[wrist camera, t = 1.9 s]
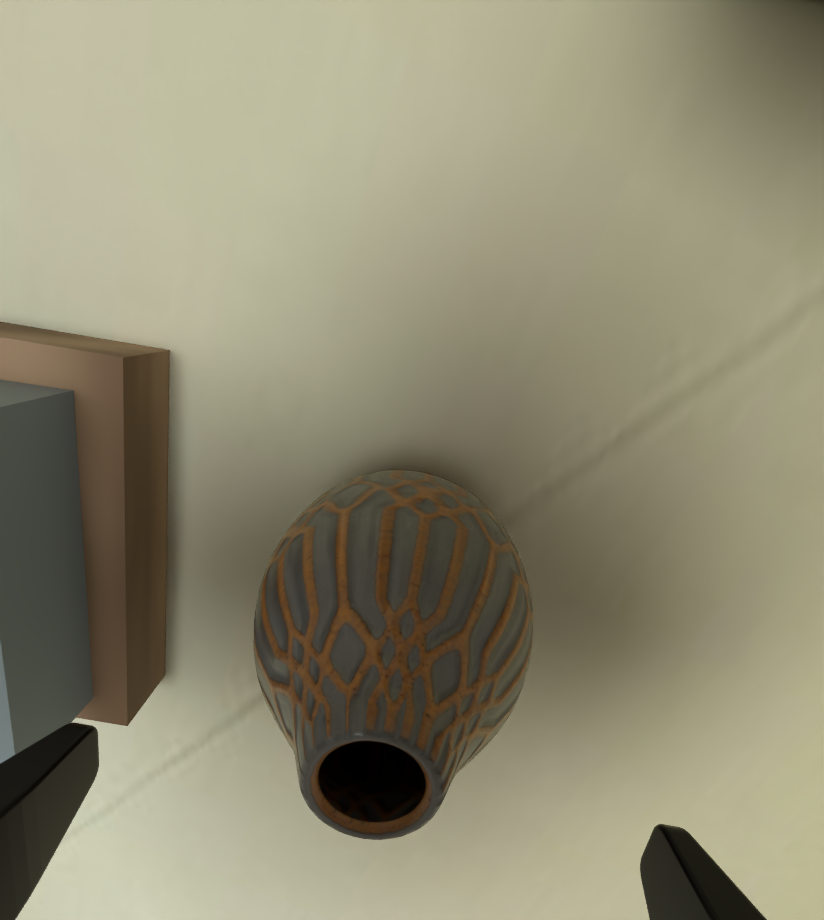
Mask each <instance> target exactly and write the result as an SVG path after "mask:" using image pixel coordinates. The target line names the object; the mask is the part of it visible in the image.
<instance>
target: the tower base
mask: <svg viewBox="0 0 824 920" xmlns="http://www.w3.org/2000/svg"><path fill="white" fill-rule="evenodd" d="M169 356H170V350H165V349H159V348H153V347H147V346H141V345H135V344H129V343H123V342H117V341H111V340H106V339H100V338H94V337H88V336H82V335H76V334H70V333H64V332H58V331H52V330H46V329H40V328H34V327H28V326H22V325H16V324H10V323H4V322H0V380H6V381H13V382H20V383H27V384H34V385H40V386H47V387H54V388H61V389H68V390H74V406H75V421H76V437H77V452H78V468H79V484H80V499H81V515H82V530H83V546H84V561H85V577H86V592H87V608H88V623H89V639H90V655H91V671H92V687H93V698H92V699H91V701H90V702H89V703H88V704H87V705H86V706H85V707H84V709H83V710H82V711H81V712H80V713H79V714H78V715H77V718H83V719H89V720H95V721H101V722H107V723H113V724H119V725H125V726H128V724H129V723H130V722H131V720H132V719H133V718H134V716H135V715H136V714H137V712H138V711H139V710H140V708H141V707H142V706H143V704H144V703H145V702H146V700H147V699H148V697H149V696H150V695H151V693H152V692H153V691H154V689H155V688H156V687H157V685H158V684H159V683H160V681H161V680H162V679H163V677H164V676H165V648H166V575H167V502H168V429H169Z"/></svg>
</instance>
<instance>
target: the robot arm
mask: <svg viewBox="0 0 824 920" xmlns="http://www.w3.org/2000/svg"><path fill="white" fill-rule="evenodd" d="M98 767H99V750H98V731H97V729H96V728H95V727H94V726H91V725H85V724H79V723H69V724H66V725H64V726H62V727H60V728H59V729H57V730H55V731H54V732H52V733H50V734H49V735H47V736H45V737H44V738H42V739H40V740H39V741H37V742H35V743H34V744H32V745H30V746H29V747H27V748H25V749H24V750H22V751H20V752H19V753H17V754H15V755H14V756H12V757H10V758H9V759H7V760H5V761H4V762H2V763H0V920H15V919H16V918H17V916H18V915H19V913H20V911H21V910H22V908H23V907H24V905H25V904H26V902H27V900H28V899H29V897H30V896H31V894H32V892H33V891H34V889H35V887H36V885H37V884H38V882H39V880H40V878H41V877H42V875H43V873H44V871H45V869H46V868H47V866H48V864H49V862H50V860H51V858H52V857H53V855H54V853H55V851H56V849H57V848H58V846H59V844H60V842H61V840H62V838H63V837H64V835H65V833H66V831H67V829H68V828H69V826H70V824H71V822H72V820H73V818H74V817H75V815H76V813H77V811H78V809H79V808H80V806H81V804H82V802H83V800H84V798H85V797H86V795H87V793H88V791H89V789H90V788H91V786H92V784H93V782H94V780H95V777H96V775H97V772H98ZM640 872H641V879H642V884H643V889H644V894H645V899H646V904H647V909H648V913H649V918H650V920H767V919H766V918H765V917H764V916H763V915H762V914H761V913H760V912H759V911H758V909H757V908H756V907H755V906H754V905H753V904H752V903H751V902H750V900H749V899H748V898H747V897H746V896H745V895H744V894H743V893H742V892H741V890H740V889H739V888H738V887H737V886H736V885H735V884H734V883H733V881H732V880H731V879H730V878H729V877H728V876H727V875H726V874H725V873H724V871H723V870H722V869H721V868H720V867H719V866H718V865H717V864H716V862H715V861H714V860H713V859H712V858H711V857H710V856H709V855H708V854H707V852H706V851H705V850H704V849H703V848H702V847H701V846H700V845H699V843H698V842H697V841H696V840H695V839H694V838H693V837H692V836H691V835H690V834H689V833H688V832H687V831H686V830H685V829H683V828H680V827H676V826H670V825H664V824H659V825H657V826H656V827H655V828H654V829H653V832H652V834H651V836H650V839H649V841H648V843H647V846H646V848H645V850H644V853H643V855H642V858H641V863H640Z"/></svg>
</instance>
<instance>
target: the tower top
mask: <svg viewBox="0 0 824 920" xmlns="http://www.w3.org/2000/svg"><path fill="white" fill-rule="evenodd" d="M92 698H93V687H92V671H91V655H90V639H89V623H88V608H87V592H86V577H85V561H84V546H83V530H82V515H81V499H80V484H79V468H78V452H77V437H76V421H75V406H74V390H68V389H61V388H54V387H47V386H40V385H34V384H27V383H20V382H13V381H6V380H0V763H2V762H4V761H5V760H7V759H9V758H10V757H12V756H14V755H15V754H17V753H19V752H20V751H22V750H24V749H25V748H27V747H29V746H30V745H32V744H34V743H35V742H37V741H39V740H40V739H42V738H44V737H45V736H47V735H49V734H50V733H52V732H54V731H55V730H57V729H59V728H60V727H62V726H64V725H66V724H69V723H71V722H72V721H73V720H74V719H75V718H76V717H77V715H78V714H79V713H80V712H81V711H82V710H83V709H84V707H85V706H86V705H87V704H88V703H89V702H90V701H91V699H92Z"/></svg>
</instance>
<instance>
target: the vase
mask: <svg viewBox="0 0 824 920" xmlns="http://www.w3.org/2000/svg"><path fill="white" fill-rule="evenodd" d="M532 634H533V612H532V601H531V595H530V589H529V585H528V581H527V578H526V574H525V571H524V568H523V565H522V563H521V560H520V558H519V555H518V553H517V550H516V548H515V546H514V544H513V542H512V541H511V539H510V537H509V535H508V534H507V532H506V530H505V529H504V527H503V526H502V524H501V523H500V522H499V520H498V519H497V518H496V517H495V516H494V514H493V513H492V512H491V511H490V510H489V509H488V508H487V507H486V506H485V505H484V504H483V503H482V502H481V501H479V500H478V499H477V498H476V497H475V496H473V495H472V494H471V493H469V492H468V491H466V490H465V489H463V488H461V487H460V486H458V485H456V484H454V483H452V482H450V481H448V480H445V479H443V478H440V477H438V476H434V475H431V474H427V473H423V472H418V471H410V470H387V471H380V472H374V473H369V474H365V475H362V476H358V477H356V478H353V479H350V480H348V481H346V482H344V483H342V484H340V485H338V486H336V487H334V488H333V489H331V490H329V491H328V492H326V493H325V494H323V495H322V496H320V497H319V498H318V499H317V500H315V501H314V502H313V503H312V504H311V505H310V506H309V507H308V508H307V509H306V510H305V511H304V512H303V513H302V514H301V515H300V516H299V517H298V518H297V519H296V521H295V522H294V523H293V524H292V525H291V527H290V528H289V529H288V531H287V532H286V534H285V535H284V536H283V538H282V539H281V541H280V543H279V544H278V546H277V548H276V550H275V551H274V553H273V555H272V557H271V559H270V561H269V563H268V565H267V568H266V571H265V574H264V577H263V580H262V582H261V586H260V590H259V594H258V599H257V605H256V611H255V620H254V656H255V664H256V671H257V675H258V679H259V683H260V686H261V689H262V692H263V695H264V698H265V700H266V703H267V705H268V707H269V709H270V711H271V713H272V715H273V717H274V719H275V720H276V722H277V724H278V726H279V727H280V729H281V731H282V733H283V734H284V736H285V738H286V739H287V741H288V743H289V744H290V746H291V747H292V749H293V751H294V754H295V759H296V765H297V772H298V779H299V784H300V788H301V792H302V795H303V797H304V799H305V801H306V803H307V805H308V806H309V808H310V809H311V810H312V812H313V813H314V814H315V815H316V816H317V817H318V818H319V819H320V820H322V821H323V822H324V823H326V824H327V825H328V826H330V827H332V828H334V829H335V830H337V831H339V832H342V833H344V834H347V835H350V836H354V837H358V838H363V839H373V840H382V839H391V838H397V837H401V836H404V835H407V834H409V833H412V832H414V831H416V830H417V829H419V828H421V827H422V826H424V825H425V824H426V823H427V822H428V821H429V820H430V819H431V818H432V817H433V816H434V815H435V813H436V812H437V810H438V809H439V807H440V805H441V803H442V801H443V799H444V797H445V795H446V793H447V790H448V788H449V786H450V784H451V782H452V780H453V778H454V776H455V775H456V773H458V772H459V771H460V770H461V769H462V768H463V767H464V766H465V765H466V764H468V763H469V762H470V761H471V760H472V759H473V758H474V757H475V756H476V755H477V754H478V753H479V752H480V751H481V750H482V749H483V748H484V747H485V746H486V745H487V744H488V743H489V742H490V741H491V740H492V738H493V737H494V736H495V735H496V734H497V733H498V731H499V730H500V728H501V727H502V726H503V724H504V723H505V721H506V720H507V718H508V717H509V715H510V713H511V712H512V710H513V708H514V706H515V703H516V701H517V699H518V697H519V694H520V692H521V689H522V686H523V683H524V680H525V676H526V672H527V669H528V664H529V658H530V653H531V647H532Z"/></svg>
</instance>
